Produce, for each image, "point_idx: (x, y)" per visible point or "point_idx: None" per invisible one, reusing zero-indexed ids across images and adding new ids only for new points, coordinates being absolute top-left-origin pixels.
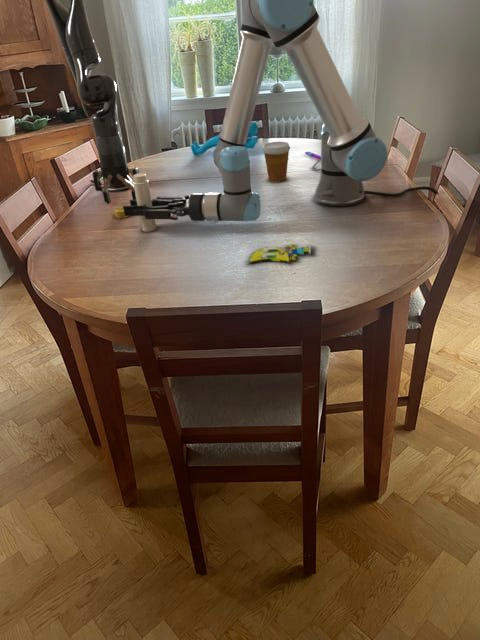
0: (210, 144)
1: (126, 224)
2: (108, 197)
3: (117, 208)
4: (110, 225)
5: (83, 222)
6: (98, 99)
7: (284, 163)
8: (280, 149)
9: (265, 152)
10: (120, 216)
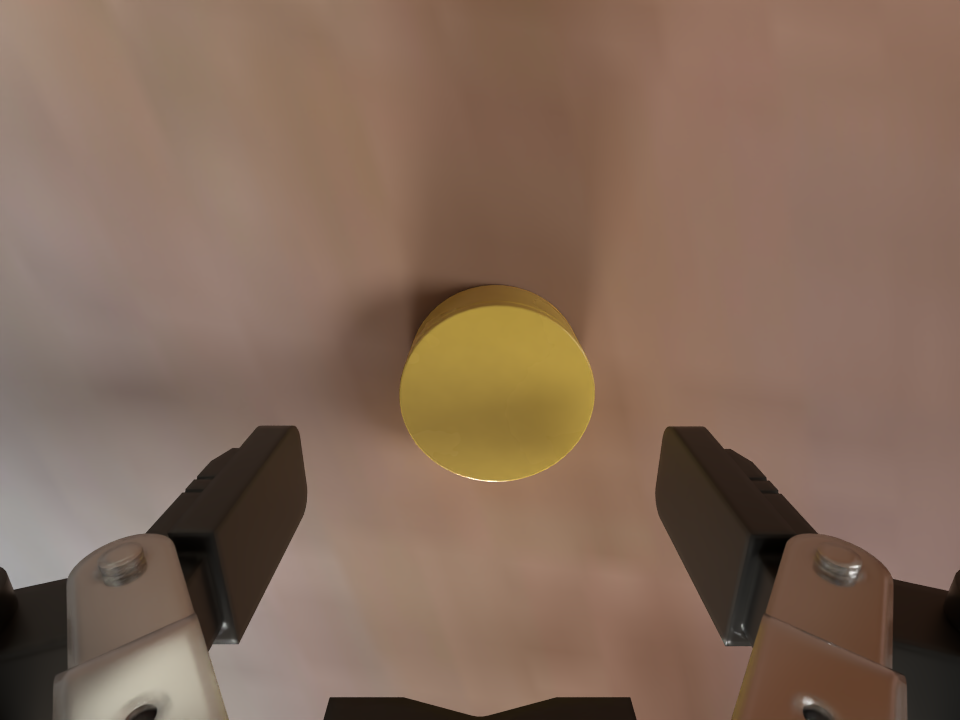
0: None
1: (364, 48)
2: (696, 506)
3: (559, 424)
4: (579, 44)
5: (948, 215)
6: None
7: None
8: None
9: None
10: (500, 289)
